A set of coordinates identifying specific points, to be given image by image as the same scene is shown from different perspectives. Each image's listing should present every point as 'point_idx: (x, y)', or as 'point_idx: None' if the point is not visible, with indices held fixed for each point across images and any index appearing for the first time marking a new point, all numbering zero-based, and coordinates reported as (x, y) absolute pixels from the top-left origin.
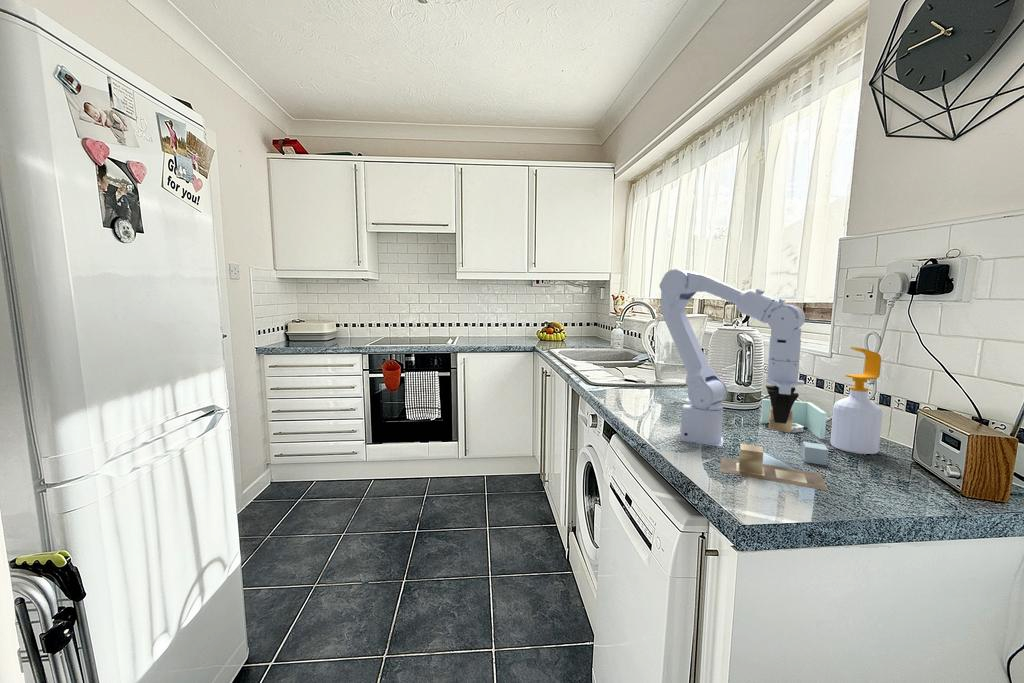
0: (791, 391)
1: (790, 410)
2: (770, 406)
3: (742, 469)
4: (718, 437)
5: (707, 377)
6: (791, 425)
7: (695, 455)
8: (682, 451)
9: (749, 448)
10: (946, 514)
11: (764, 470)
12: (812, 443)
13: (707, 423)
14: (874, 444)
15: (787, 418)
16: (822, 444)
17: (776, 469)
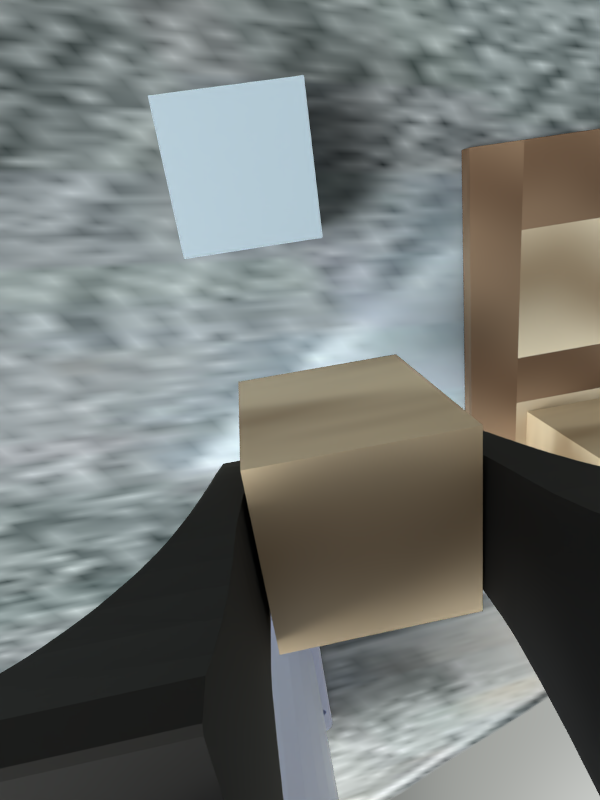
0: (226, 693)
1: (403, 455)
2: (315, 643)
3: None
4: (273, 645)
5: None
6: (416, 373)
7: (463, 633)
8: (441, 676)
9: None
10: None
11: (557, 393)
12: (184, 191)
13: (330, 756)
14: None
15: (484, 433)
16: (156, 114)
17: (520, 351)
